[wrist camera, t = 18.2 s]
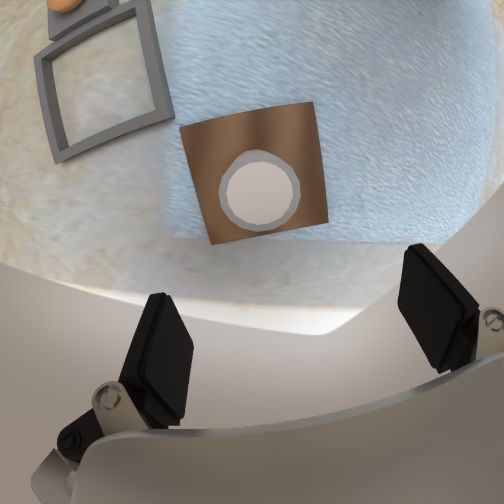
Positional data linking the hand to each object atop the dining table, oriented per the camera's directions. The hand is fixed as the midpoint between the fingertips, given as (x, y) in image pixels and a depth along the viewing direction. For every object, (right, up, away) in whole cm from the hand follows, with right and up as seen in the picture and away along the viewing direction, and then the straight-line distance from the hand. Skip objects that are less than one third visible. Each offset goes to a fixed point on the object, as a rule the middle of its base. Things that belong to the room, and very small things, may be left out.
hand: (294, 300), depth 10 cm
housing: (-20, +25, +10) cm, 33 cm away
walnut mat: (-1, +10, +19) cm, 22 cm away
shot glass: (-1, +10, +18) cm, 21 cm away
